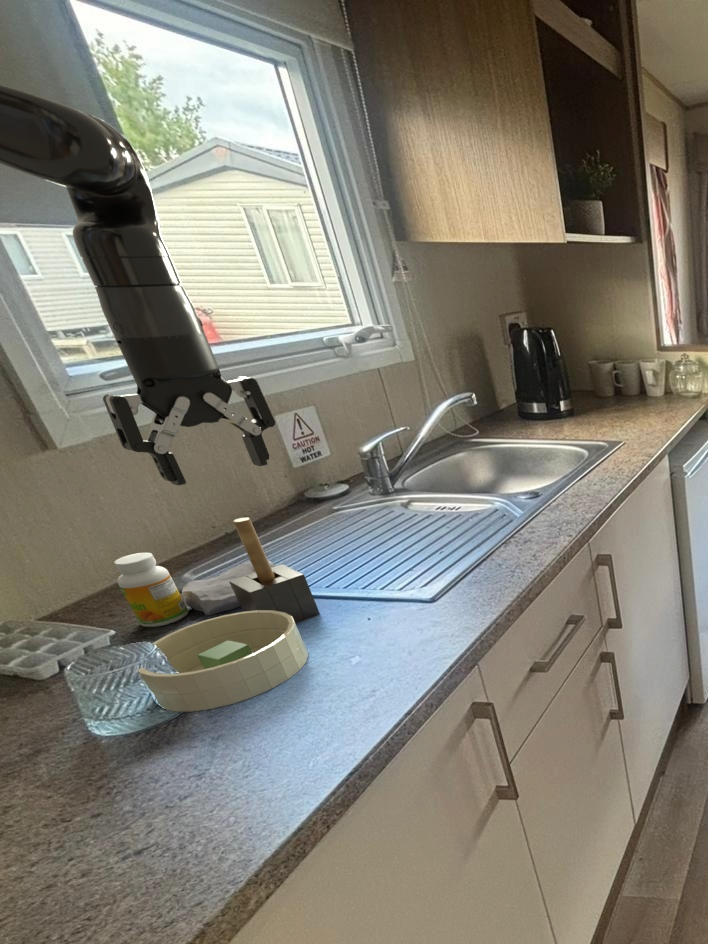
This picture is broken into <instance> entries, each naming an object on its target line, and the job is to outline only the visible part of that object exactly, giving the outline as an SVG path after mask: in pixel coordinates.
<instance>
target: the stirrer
mask: <svg viewBox="0 0 708 944" xmlns="http://www.w3.org/2000/svg"><path fill="white" fill-rule="evenodd" d="M232 523H233V525H234V527H235V530H236V532H237V534H238V536H239V538H240V541H241V543H242V546H243V547H244V549H245V552H246V554H247V556H248V559H249V561H251V563H252V565H253V568H254V570H255V572H256V574H257V577H258V579H259V581H260V583H263V582H266V581H269V580H272V579H275V576H274V573H273V571H272V569H271V566H270V564H269V562H268V561H269V559H268V557H267V555H266V553H265V550H264V547H263V545H262V544H261V541H260V539H259V536H258V533H257V532H256V529H255V527H254V524H253V522H252V520H251V518H250V517H249V516H248V517H247V516H246V517H239V518H236V519H234V520H233V521H232Z"/></svg>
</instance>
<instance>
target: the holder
mask: <svg viewBox="0 0 708 944" xmlns="http://www.w3.org/2000/svg"><path fill="white" fill-rule="evenodd" d="M271 569H272V571H273V573H274V576H275V579H272V580H269V581H266V582H263V583H260V581H259V579H258V577H257V574H256V573H253V574H250V575H247V576H244V577H241V578H238V579H234V580H231V581H229V583H230V585H231V587H232V589H233V591H234V593H235V595H236V598H237V600H238V602H239V604H240V606H241V607H240V608H241V610H242V612H246V611H256V610H273V611H279V612H284V613H287V614H288V615H290V616H292V617H293V619H294V622H295V624H296V625H297V624H298V623H302V622H304V621H306V620H309V619H311V618H314V617H317V616H320V615H321V613H320V610H319V608H318V605H317V603H316V601H315V598H314V595H313V593H312V591H311V588H310V586H309V583H308V581H307V579H306V575H305V574H304V573H302V572H300V571H297V570H295V569H293V568H292V567H289V566H287V565H286V564H283V563H281V564H279V565H276V566H275V567H272V568H271Z"/></svg>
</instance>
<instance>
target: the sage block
mask: <svg viewBox="0 0 708 944" xmlns="http://www.w3.org/2000/svg"><path fill="white" fill-rule="evenodd" d="M250 654H252V652H251V649H250V647H249V645H248V644H243V643H238V642H233V641H228V640H227V641H225V642H223V643H221V644H219V645H217V646H215V647H213V648H211V649H209V650H207V651H205V652H202V653H200V654H198V655H197V656H198V658H199V660H200V662H201V663H202V665H203V667H204V669H208V668H213V667H216V666H219V665H223V664H226V663H229V662H232V661H235V660H238V659H240V658H243V657H245V656H248V655H250Z"/></svg>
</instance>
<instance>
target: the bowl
mask: <svg viewBox="0 0 708 944" xmlns="http://www.w3.org/2000/svg"><path fill="white" fill-rule="evenodd" d="M227 640H228V641H233V642H238V643H243V644H248V645H249V647H250V649H251V652H252V654H250V655H248V656H245V657H243V658H240V659H238V660H235V661H232V662H229V663H226V664H223V665H219V666H216V667H213V668H208V669H204V667H203V665H202V663H201V662H200V660H199V658H198V656H197V655H198V654H200V653H202V652H205V651H207V650H209V649H211V648H213V647H215V646H217V645H219V644H221V643H223V642H225V641H227ZM151 644H154V645H156V646H157V647H158V648H159V649H160V650H161V651H162V652H163V653H164V654H165V656H166V657H167V659H168V661H169V662H170V664H171V665H172V666H173V668H174V669H175V670H177V671H178V672H179V673H176V674H161V673H154V672H150V671H147V670H146V669H144V668H143V667H141V668H140V669H138V670H137V671H138V673H139V674H140V676H141V678H142V679H143V681H144V682H145V684H146V685H147V686H148V688H149V689H150V690H151V691H152V692H153V693H154V695H155V697H156V699H157V701H158V703H159V704H160V705H161V706H162V707H164V709H163V710H165V709H166V711H170V712H177V713H178V712H181V713H192V712H199V711H207V710H208V711H209V710H213V709H218V708H222V707H227V706H231V705H234V704H237V703H240V702H243V701H245V700H249V699H252V698H254V697H257V696H259V695H261V694H264V693H265V692H268V691H270V690H272V689H275V688H277V687H278V686H279V685H281V684H283V683H285V682H287V681H288V680H289V679H291V678H292V677H293V676H295V674H297V673H298V672H300V671H301V669H302V668H304V667H303V666H304V665H305V664H306V663H307V661H308V657H309V652H308V650H307V647H306V645H305V642H304V641H303V638H302V635H301V633H300V631H299V629H298V626H297V623H296V624H295V622H294V619H293V617H292V616H290V615H288V614H287V613H284V612H279V611H273V610H256V611H246V612H243V611H240V612H235V613H230V614H223V615H219V616H216V617H213V618H208V619H205V620H201V621H199V622H195V623H193V624H189V625H187V626H184V627H182V628H180V629H177V630H175V631H173V632H171V633H168V634H166V635H165V636H162V637H161V638H159V639H157V640H156V641H154V642H152V643H151Z"/></svg>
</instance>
